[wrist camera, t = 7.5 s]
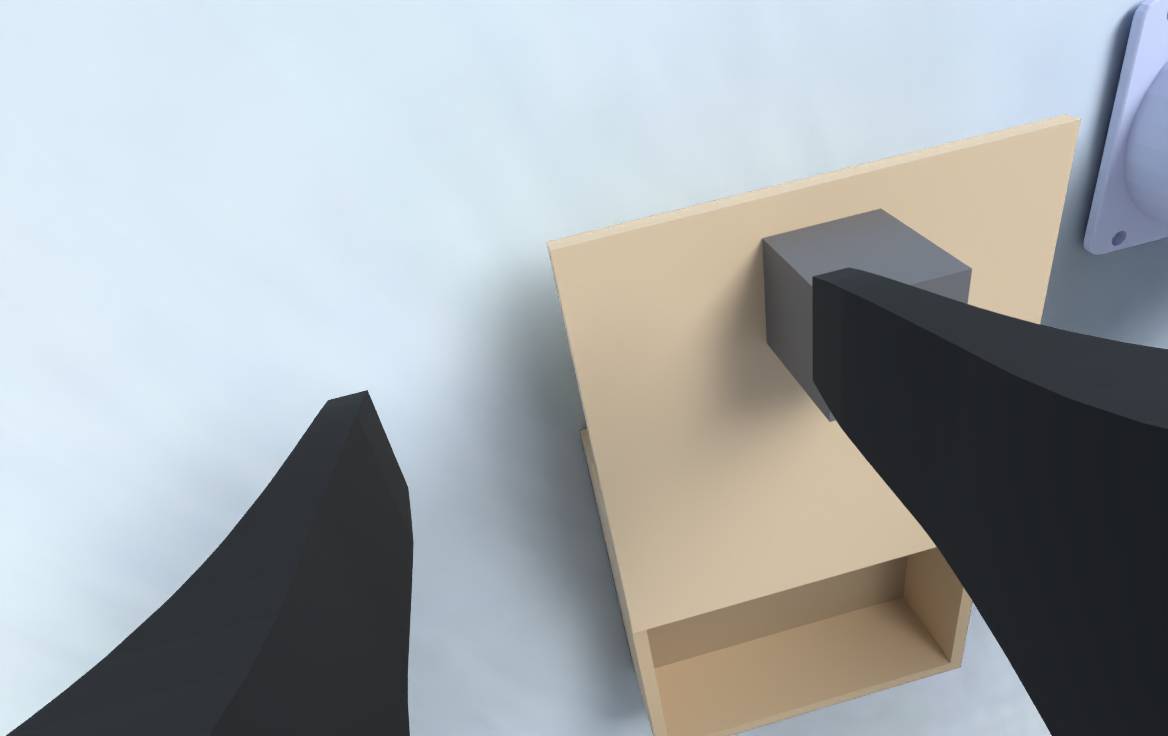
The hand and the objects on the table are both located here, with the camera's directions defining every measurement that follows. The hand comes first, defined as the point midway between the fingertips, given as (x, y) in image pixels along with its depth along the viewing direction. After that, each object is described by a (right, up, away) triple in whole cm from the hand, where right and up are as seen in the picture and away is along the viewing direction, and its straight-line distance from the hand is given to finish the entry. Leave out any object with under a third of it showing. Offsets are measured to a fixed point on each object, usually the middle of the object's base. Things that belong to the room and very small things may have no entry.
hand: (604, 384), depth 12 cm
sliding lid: (+6, -1, +10) cm, 12 cm away
